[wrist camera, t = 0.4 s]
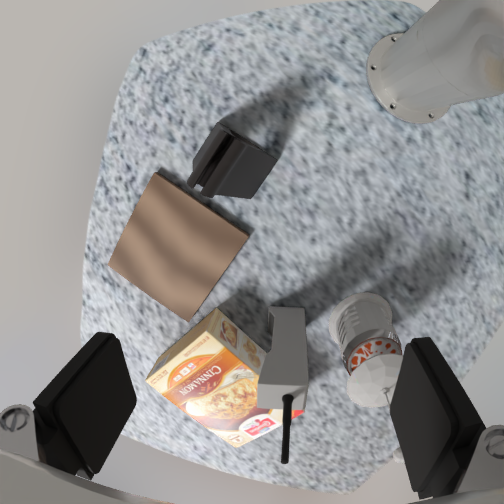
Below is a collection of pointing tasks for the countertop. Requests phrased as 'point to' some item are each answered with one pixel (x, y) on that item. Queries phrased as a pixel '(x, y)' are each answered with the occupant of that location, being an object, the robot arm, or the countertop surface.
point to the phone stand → (229, 165)
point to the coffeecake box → (217, 380)
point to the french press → (368, 350)
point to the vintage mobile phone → (285, 368)
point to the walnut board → (175, 247)
